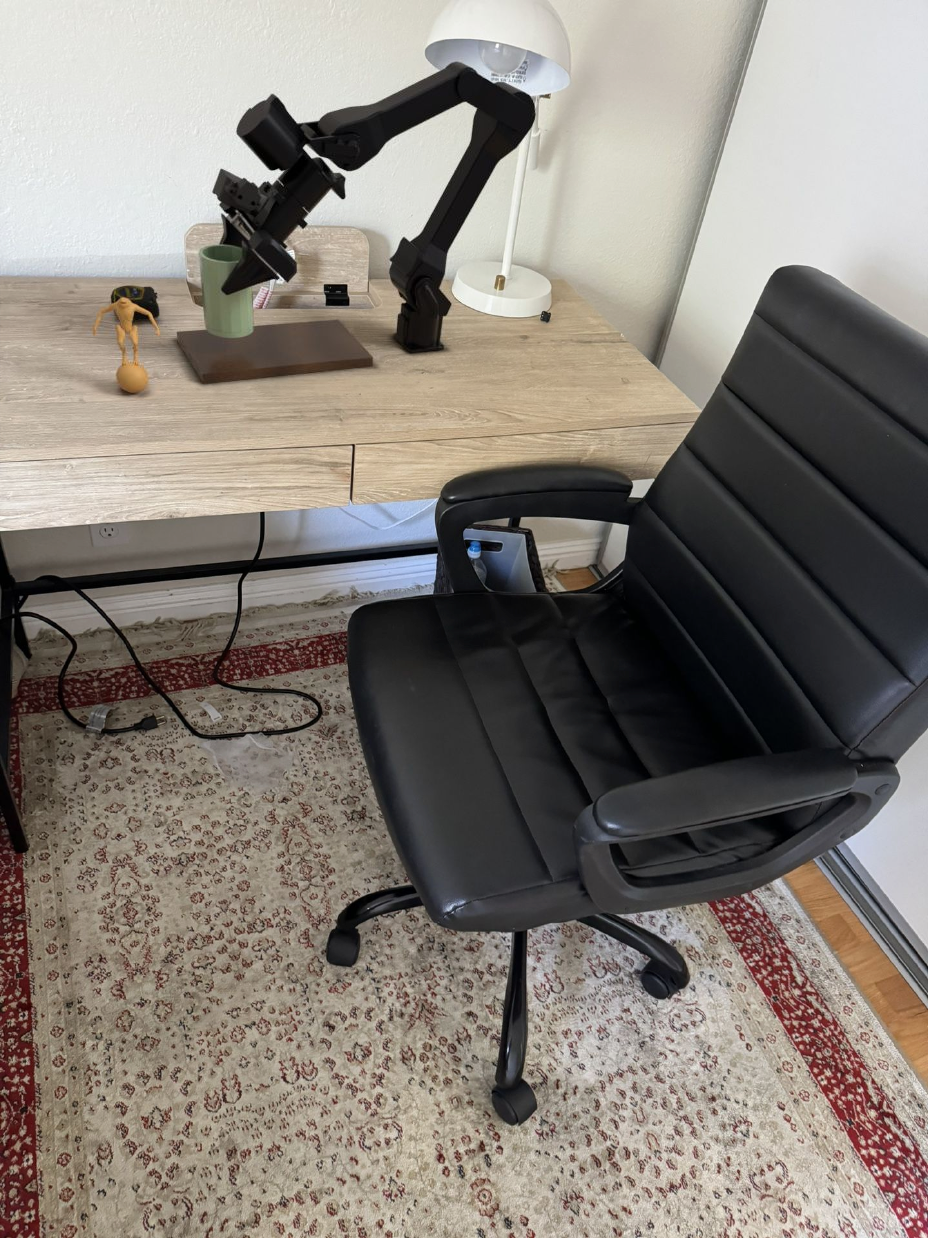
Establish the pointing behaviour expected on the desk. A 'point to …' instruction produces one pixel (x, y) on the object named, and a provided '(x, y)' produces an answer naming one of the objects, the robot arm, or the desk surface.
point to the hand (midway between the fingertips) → (216, 282)
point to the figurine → (128, 373)
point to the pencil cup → (220, 310)
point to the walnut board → (274, 351)
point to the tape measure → (138, 299)
